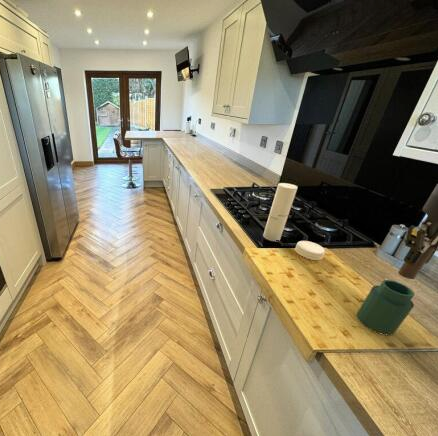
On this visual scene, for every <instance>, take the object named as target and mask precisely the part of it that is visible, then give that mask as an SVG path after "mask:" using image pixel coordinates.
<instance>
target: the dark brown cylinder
mask: <svg viewBox="0 0 438 436" xmlns="http://www.w3.org/2000/svg"><path fill="white" fill-rule="evenodd" d="M423 245H424V242H423ZM434 250H435V247H434V246H432V245H430V246H429V247H428V249H427V250H426V251H425V252H424V254H423V255H422V257H421V258H420V260H419V261H418V263H417V264H416V265H411V264H409V263H407V262H405V261H404V262H403V263H402V265H401V266H400V268H399V270H398V272H397V273H398V275H400V276H401V277H403V278H405V279H408V280H415V279H416V278H417V276H418V275H419V273H420V271H421V270H422V269H423V267H424V266H425V265H426V264H425V263H426V261H427V260H428V258H429V257H430V255H431V254H432V253H433V251H434Z"/></svg>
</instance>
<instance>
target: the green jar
mask: <svg viewBox="0 0 438 436" xmlns="http://www.w3.org/2000/svg"><path fill="white" fill-rule="evenodd" d="M414 296H415V292H414V291H413V290H412V288H410V287H408V286H406V285H405V284H404V283H401V282H398V281H395V280H391V279H384V280H382V281H381V283H380V285H374V286H372V287H371V289H370V290H369V292H368V294H367V295H366V297H365V299H363V300H364V301H363V302H362V304H361V306H360V307H359V308H358V310H357V312H356V317H357V320H358V321H359V322H360V323H361V324H362V325H363V326H364V327H366V328H367V327H368V328H367V329H369V328H370V329H372V330H373V331H372V330H371V331H372V332H374V331H376V332H375V333H377V332H378V333H377V334H379V333H382V334H385V335H384V336H392V335H394V334H395V333H396V332H397V330H398V329H399V327H400V326H401V325H402V323H403V322H404V321H405V320H406V318H407V317H408V315H409V314H410V313H411V312H412V310H413V309H414V307H415V304H414V301H413V300H412V299H413V297H414ZM370 329H369V330H370ZM382 334H381V335H382ZM386 334H387V335H386ZM391 334H392V335H391Z"/></svg>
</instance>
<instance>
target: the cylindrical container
mask: <svg viewBox="0 0 438 436" xmlns="http://www.w3.org/2000/svg"><path fill="white" fill-rule="evenodd" d="M297 191H298V185H295V184H292V183H286V182H279V183H278V185H277V187H276V190H275V194H274V197H273V201H272V204H271V207H270V211H269V214H268V218H267V221H266V224H265V228H264V231H263V236H262V237H263V238H264V239H266V240H268V241H270V242H277V241H276V240H279V241H280V240H281V238H282V235H283V232H284V229H285V226H286V224H287V220H288V218H289V215H290V211H291V208H292V205H293V203H294V200H295V196H296V194H297Z"/></svg>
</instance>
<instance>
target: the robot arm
mask: <svg viewBox="0 0 438 436" xmlns="http://www.w3.org/2000/svg"><path fill="white" fill-rule="evenodd" d="M421 211H422V212H423V213H425V214H426V218H424V220H422V222H421V223H420V225H418V226H415V225H412V224H411V225H409V227H408V228H407V229H408V230H407V233H406V238H405V242H404V246H405V247H407V248H409V250H408V251H407V253H406V255H405V256H404V258H403V261H404V262H407V263H409V264H411V265H416V264H417V263H418V261H419V260H420V258H421V257H422V255H423V254H424V252H425V251H426V250H427V249H428V247H429V246H430V245H432V246H434V247H435V250H434V251H433V253H432V254H431V255H430V257H429V258H428V260H427V261H426V263H425V264H424V265H426V264H429V262H430V260H431V259H432V258H433V256H434V255H435V254H436V252H438V183H437V184H436V185H435V187H434V189H433V191H432V192H431V194H430V196H429V197H428V198H427V200H426V202H425V203H424V205H423V207H422V209H421ZM423 243H424V245H423Z"/></svg>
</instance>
